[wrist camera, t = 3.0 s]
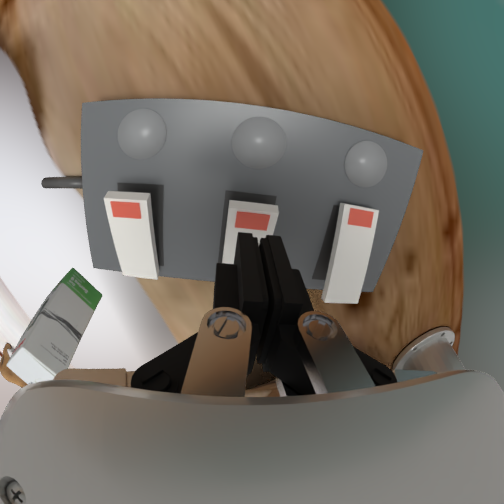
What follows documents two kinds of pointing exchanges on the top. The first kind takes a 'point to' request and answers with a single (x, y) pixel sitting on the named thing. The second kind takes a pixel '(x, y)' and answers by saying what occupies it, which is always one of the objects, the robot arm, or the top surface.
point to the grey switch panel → (237, 179)
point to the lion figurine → (7, 372)
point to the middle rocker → (247, 224)
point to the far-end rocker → (350, 254)
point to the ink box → (55, 330)
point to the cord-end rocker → (133, 232)
